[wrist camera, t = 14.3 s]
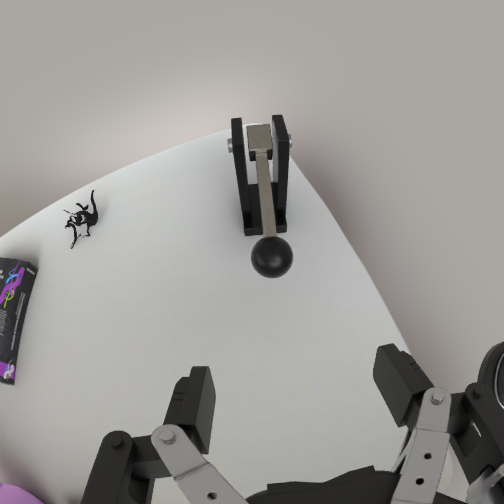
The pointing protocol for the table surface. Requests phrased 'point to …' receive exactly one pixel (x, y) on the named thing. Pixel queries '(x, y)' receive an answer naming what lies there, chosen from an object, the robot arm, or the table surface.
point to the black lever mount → (251, 191)
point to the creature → (89, 217)
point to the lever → (267, 209)
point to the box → (13, 311)
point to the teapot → (16, 495)
